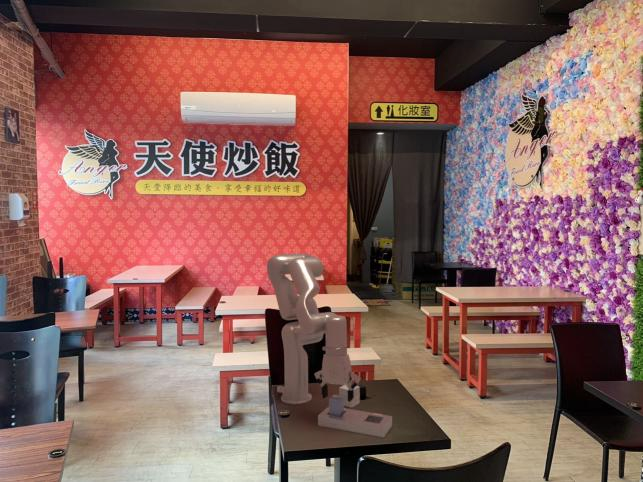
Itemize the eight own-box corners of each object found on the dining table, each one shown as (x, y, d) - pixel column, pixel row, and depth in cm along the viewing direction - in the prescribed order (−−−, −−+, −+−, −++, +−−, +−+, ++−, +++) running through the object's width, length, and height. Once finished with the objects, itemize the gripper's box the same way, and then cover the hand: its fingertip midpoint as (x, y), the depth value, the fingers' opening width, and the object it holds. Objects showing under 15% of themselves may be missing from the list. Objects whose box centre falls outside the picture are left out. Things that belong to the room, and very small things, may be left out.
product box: (347, 401, 189) (347, 383, 189) (360, 404, 186) (360, 386, 186) (338, 405, 184) (338, 387, 184) (351, 409, 181) (351, 390, 181)
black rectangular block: (345, 393, 199) (345, 383, 199) (360, 390, 203) (360, 380, 202) (361, 403, 188) (361, 391, 188) (376, 400, 192) (376, 388, 191)
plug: (329, 423, 167) (329, 397, 167) (333, 419, 171) (333, 393, 170) (339, 425, 165) (339, 398, 165) (343, 420, 169) (343, 394, 168)
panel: (318, 426, 165) (317, 415, 165) (329, 416, 175) (329, 405, 174) (383, 439, 155) (383, 427, 155) (392, 427, 165) (392, 415, 164)
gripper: (310, 351, 167) (311, 399, 167) (355, 355, 160) (356, 405, 160) (318, 346, 174) (320, 392, 174) (363, 350, 166) (364, 398, 167)
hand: (337, 398), depth 167 cm, fingers open, 9 cm apart
